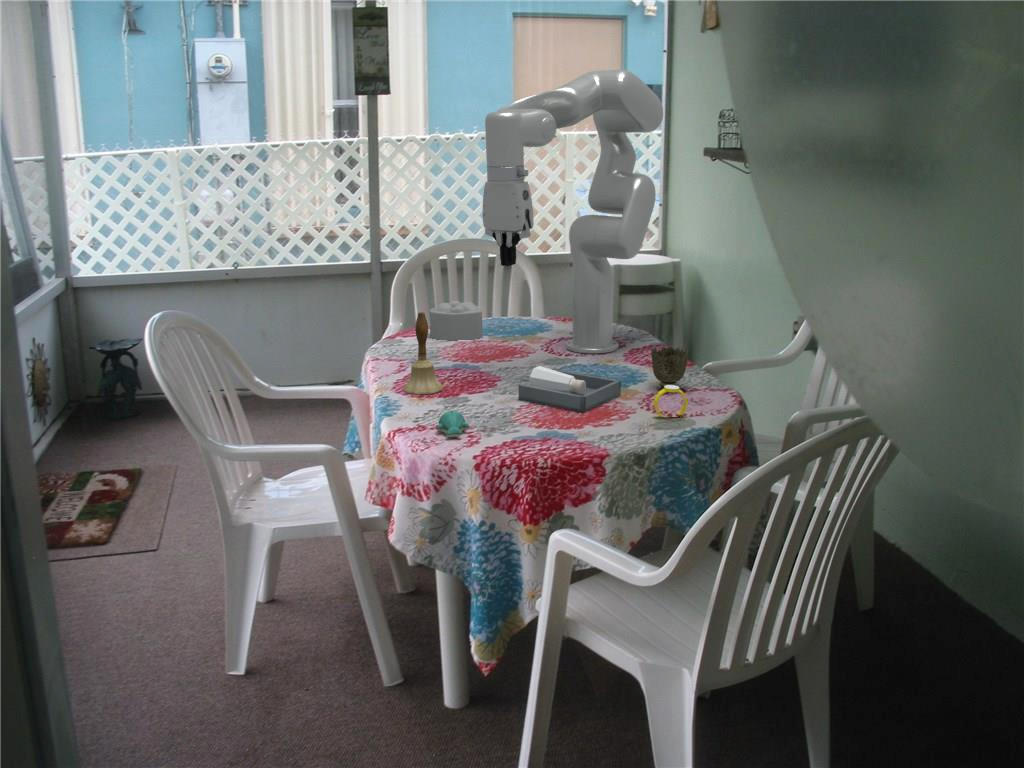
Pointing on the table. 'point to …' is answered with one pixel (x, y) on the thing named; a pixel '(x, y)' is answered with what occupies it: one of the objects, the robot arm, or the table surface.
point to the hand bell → (422, 364)
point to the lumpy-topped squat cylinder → (456, 321)
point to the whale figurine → (452, 424)
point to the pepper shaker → (555, 381)
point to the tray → (593, 396)
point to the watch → (670, 389)
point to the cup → (669, 365)
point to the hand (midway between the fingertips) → (508, 264)
